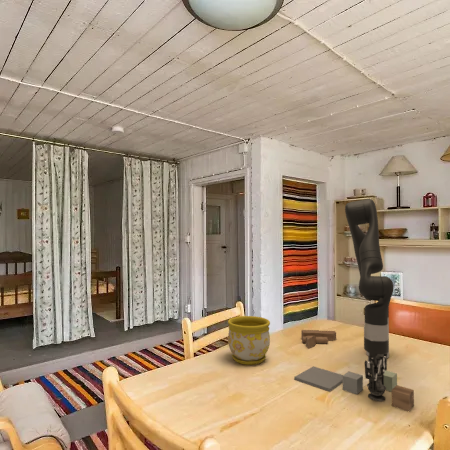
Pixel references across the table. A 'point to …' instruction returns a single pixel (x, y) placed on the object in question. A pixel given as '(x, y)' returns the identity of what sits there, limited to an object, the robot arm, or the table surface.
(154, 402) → the table surface
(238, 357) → the flowerpot
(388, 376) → the sage block
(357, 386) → the grey block
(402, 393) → the walnut block
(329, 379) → the grey tile
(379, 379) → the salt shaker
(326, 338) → the wooden block set
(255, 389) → the table surface
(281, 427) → the table surface
